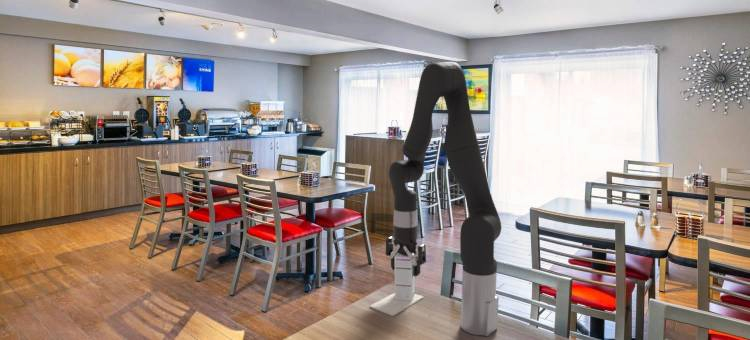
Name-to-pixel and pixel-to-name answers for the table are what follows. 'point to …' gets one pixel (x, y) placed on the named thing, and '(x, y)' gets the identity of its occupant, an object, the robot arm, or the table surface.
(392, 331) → the table surface
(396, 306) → the mat
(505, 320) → the table surface
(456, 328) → the table surface
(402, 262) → the syrup box
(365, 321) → the table surface
